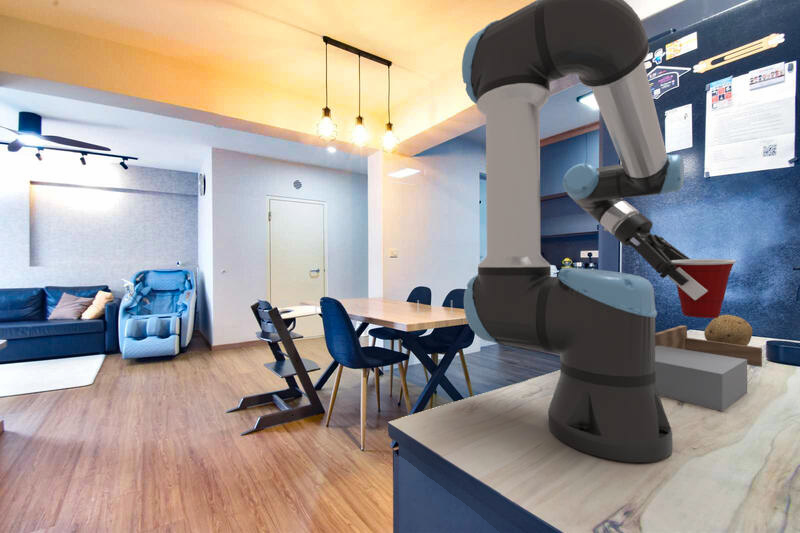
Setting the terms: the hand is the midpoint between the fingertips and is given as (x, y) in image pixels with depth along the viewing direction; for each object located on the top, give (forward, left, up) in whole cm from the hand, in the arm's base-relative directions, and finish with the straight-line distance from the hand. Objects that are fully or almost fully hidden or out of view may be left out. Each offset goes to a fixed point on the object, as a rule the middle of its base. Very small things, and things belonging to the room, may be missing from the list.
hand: (710, 294), depth 74 cm
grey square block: (-9, -7, -17) cm, 21 cm away
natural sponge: (+18, +20, -17) cm, 32 cm away
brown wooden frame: (+4, +8, -17) cm, 19 cm away
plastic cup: (-1, +1, -5) cm, 5 cm away
